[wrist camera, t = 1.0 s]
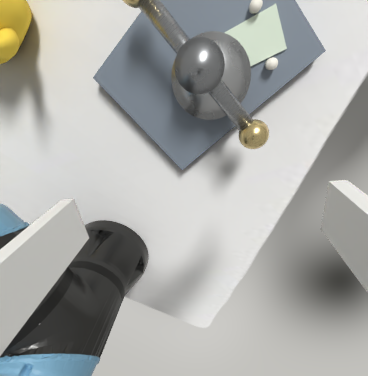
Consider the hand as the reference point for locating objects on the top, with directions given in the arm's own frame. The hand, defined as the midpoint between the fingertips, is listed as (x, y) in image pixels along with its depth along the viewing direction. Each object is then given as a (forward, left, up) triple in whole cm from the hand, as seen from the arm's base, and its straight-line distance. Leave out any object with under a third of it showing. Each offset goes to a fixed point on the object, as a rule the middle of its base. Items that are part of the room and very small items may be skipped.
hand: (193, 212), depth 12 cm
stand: (+4, +6, -23) cm, 24 cm away
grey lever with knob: (+4, +6, -21) cm, 22 cm away
